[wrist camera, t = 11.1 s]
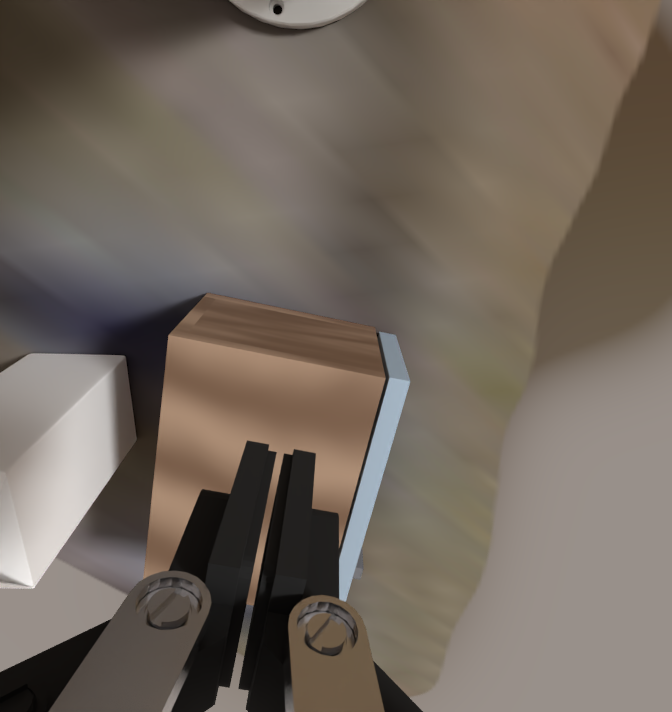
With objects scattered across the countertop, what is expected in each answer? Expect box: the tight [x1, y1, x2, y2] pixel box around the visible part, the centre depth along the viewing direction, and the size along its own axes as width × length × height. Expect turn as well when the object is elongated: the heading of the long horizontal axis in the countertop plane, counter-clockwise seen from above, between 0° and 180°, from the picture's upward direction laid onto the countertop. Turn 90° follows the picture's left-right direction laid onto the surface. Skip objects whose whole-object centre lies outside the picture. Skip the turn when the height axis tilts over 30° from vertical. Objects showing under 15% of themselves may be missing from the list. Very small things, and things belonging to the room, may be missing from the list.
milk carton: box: [0, 353, 137, 589], centre depth 31 cm, size 7×7×19 cm
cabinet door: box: [339, 332, 410, 602], centre depth 36 cm, size 18×2×8 cm, turn 168°
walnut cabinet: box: [143, 293, 386, 605], centre depth 36 cm, size 18×12×9 cm, turn 168°
